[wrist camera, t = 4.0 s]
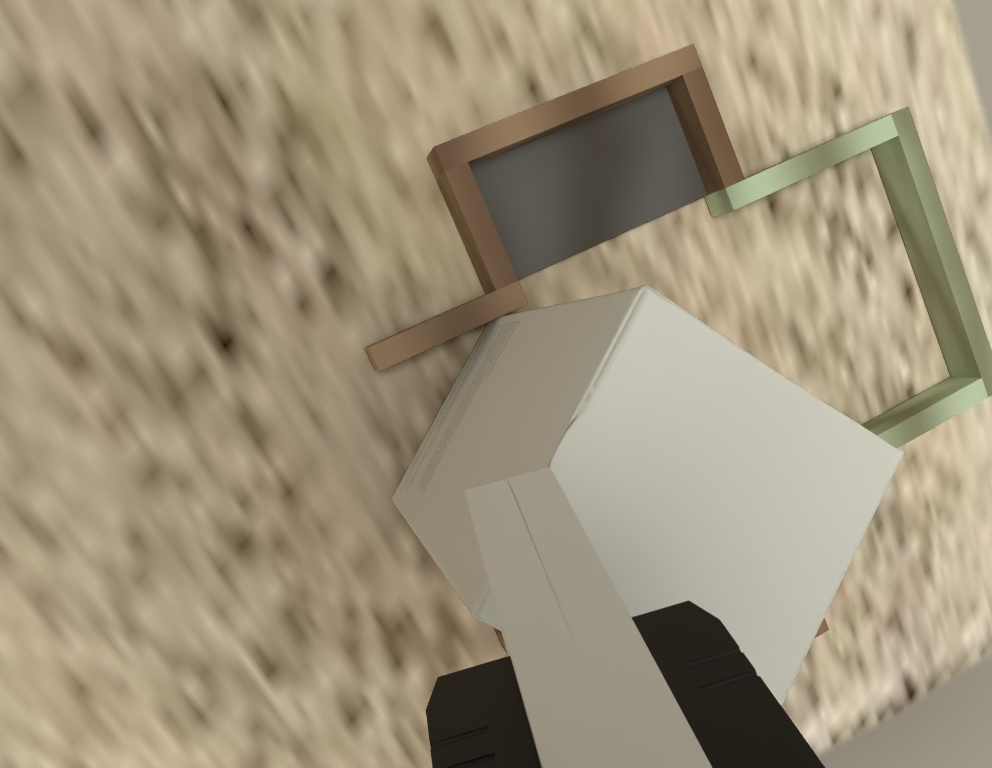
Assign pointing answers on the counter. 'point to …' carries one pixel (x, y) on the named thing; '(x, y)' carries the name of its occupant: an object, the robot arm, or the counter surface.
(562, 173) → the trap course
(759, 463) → the supplement box
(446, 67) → the counter surface
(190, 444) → the counter surface
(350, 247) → the counter surface
